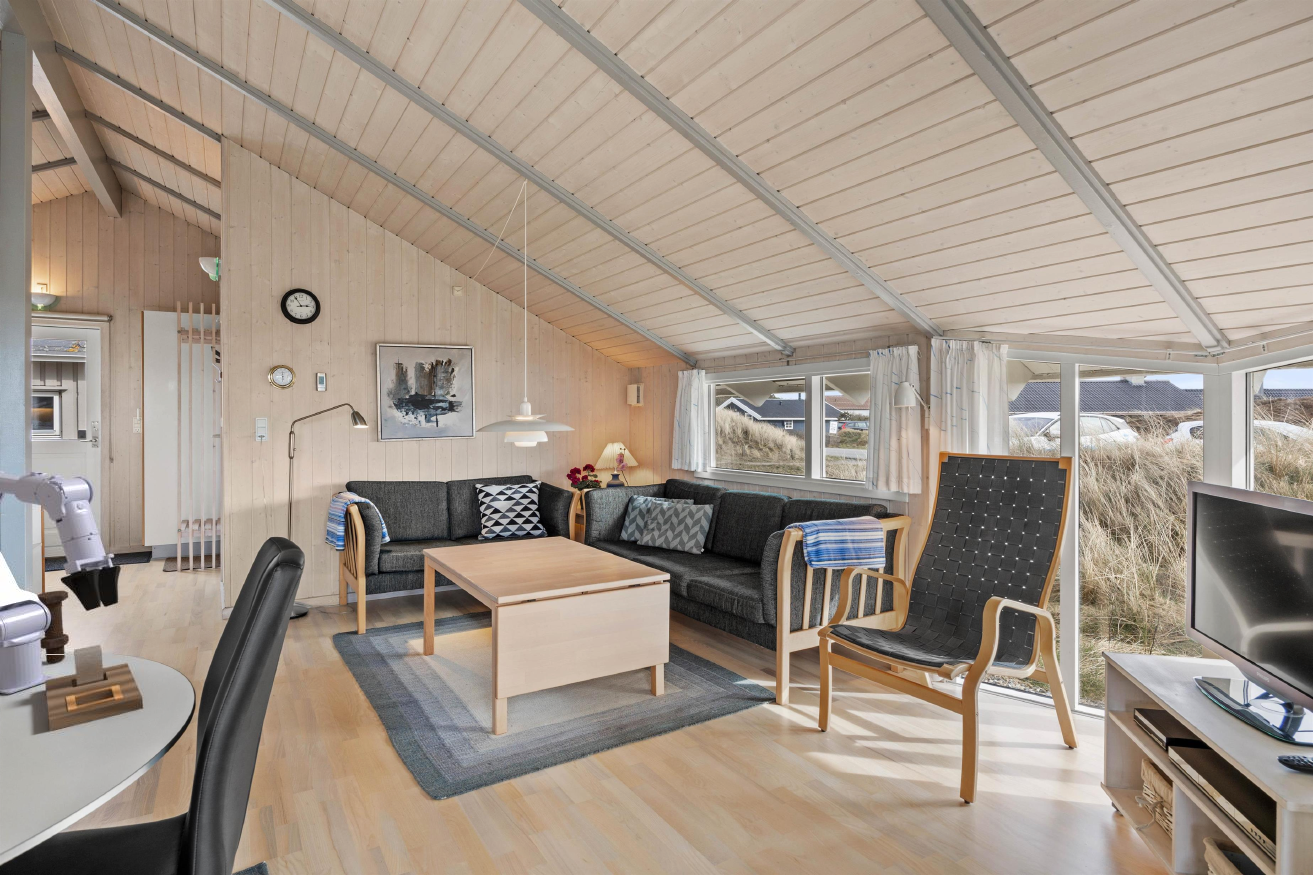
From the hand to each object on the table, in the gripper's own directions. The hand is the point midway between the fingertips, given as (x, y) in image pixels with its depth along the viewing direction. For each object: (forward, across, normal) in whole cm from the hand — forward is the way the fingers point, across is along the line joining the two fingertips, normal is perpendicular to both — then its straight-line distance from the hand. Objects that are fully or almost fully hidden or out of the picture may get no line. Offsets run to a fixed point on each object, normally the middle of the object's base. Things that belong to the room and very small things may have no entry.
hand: (102, 606), depth 137 cm
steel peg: (+14, +7, +9) cm, 18 cm away
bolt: (+7, +28, +22) cm, 36 cm away
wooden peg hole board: (+16, +2, +7) cm, 17 cm away
